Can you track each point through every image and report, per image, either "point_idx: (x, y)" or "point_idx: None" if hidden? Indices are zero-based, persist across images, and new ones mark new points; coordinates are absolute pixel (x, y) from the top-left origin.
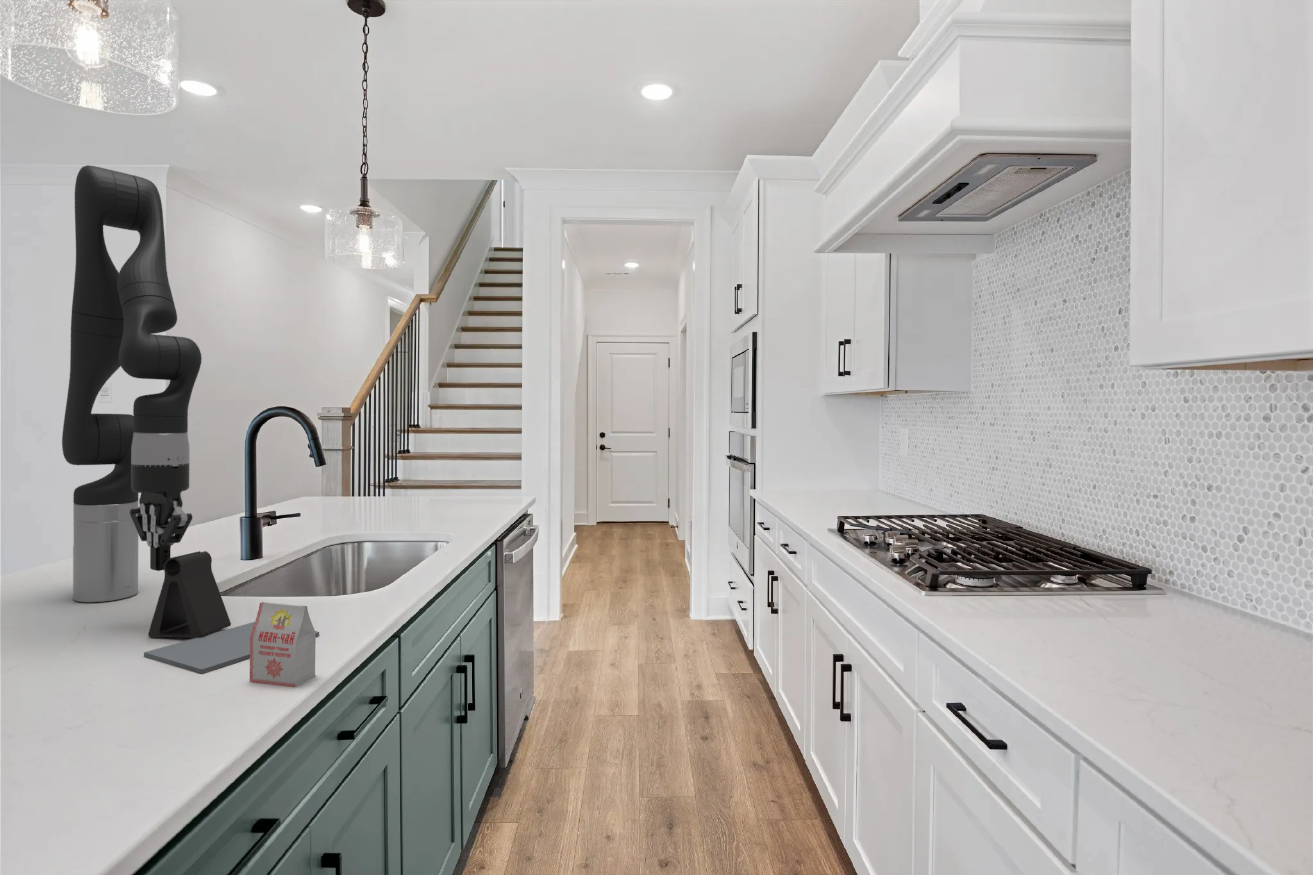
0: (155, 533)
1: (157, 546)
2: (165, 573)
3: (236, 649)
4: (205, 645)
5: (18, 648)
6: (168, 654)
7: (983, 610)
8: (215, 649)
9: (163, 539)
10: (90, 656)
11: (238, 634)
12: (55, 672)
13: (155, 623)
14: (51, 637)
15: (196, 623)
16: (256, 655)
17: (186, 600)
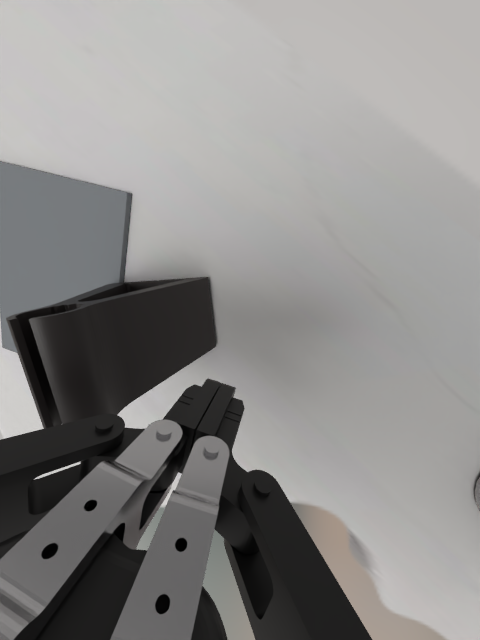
0: (131, 471)
1: (157, 421)
2: (89, 304)
3: (25, 250)
4: (75, 252)
5: (399, 144)
6: (85, 197)
7: None
8: (49, 241)
9: (87, 428)
10: (213, 161)
11: None
12: (191, 67)
13: (185, 281)
14: (395, 226)
15: (103, 286)
16: None
17: (89, 293)
